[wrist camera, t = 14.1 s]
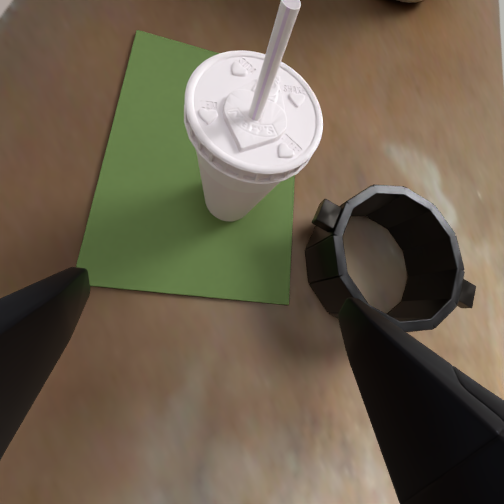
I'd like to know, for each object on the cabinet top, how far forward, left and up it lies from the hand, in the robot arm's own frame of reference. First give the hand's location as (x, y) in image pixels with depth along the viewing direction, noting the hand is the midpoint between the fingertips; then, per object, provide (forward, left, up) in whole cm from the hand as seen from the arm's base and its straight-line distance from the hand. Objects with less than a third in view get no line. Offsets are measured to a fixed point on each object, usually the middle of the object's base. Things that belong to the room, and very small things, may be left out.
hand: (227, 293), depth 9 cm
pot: (0, -13, -10) cm, 17 cm away
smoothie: (+8, -3, -10) cm, 13 cm away
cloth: (+11, -3, -10) cm, 15 cm away
